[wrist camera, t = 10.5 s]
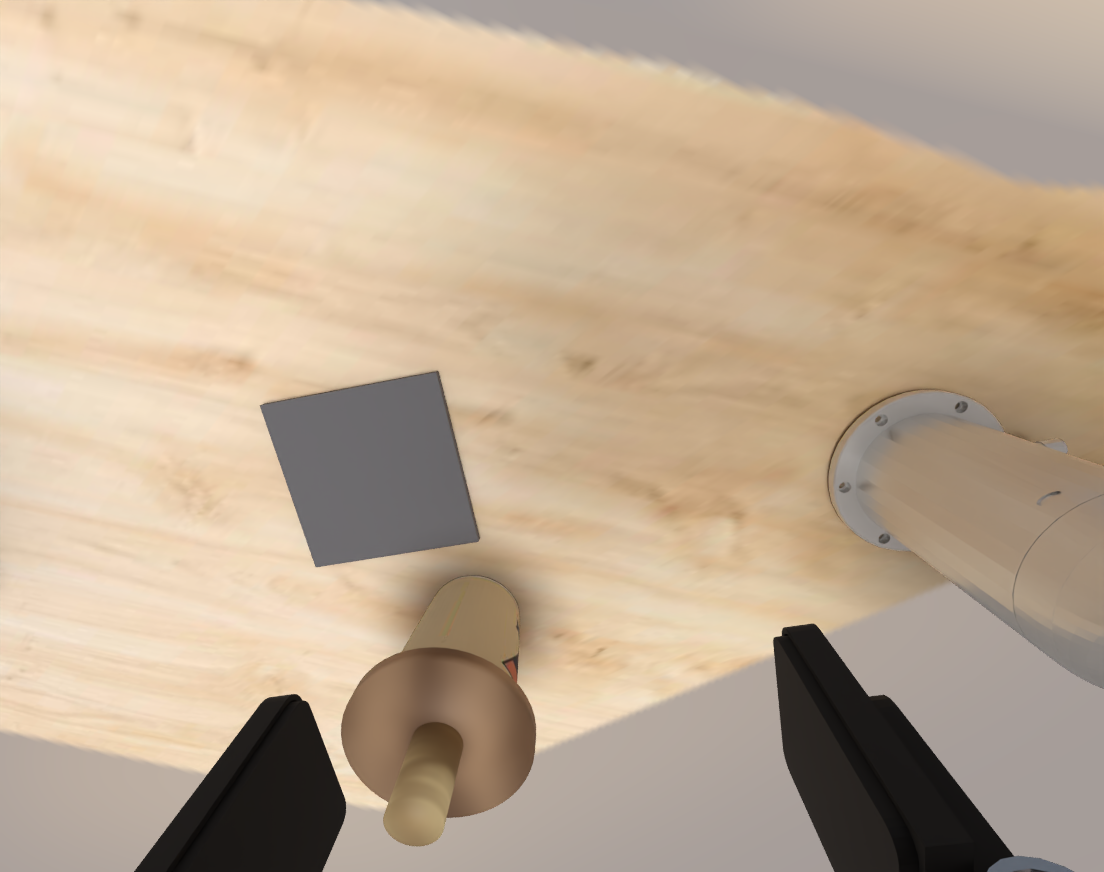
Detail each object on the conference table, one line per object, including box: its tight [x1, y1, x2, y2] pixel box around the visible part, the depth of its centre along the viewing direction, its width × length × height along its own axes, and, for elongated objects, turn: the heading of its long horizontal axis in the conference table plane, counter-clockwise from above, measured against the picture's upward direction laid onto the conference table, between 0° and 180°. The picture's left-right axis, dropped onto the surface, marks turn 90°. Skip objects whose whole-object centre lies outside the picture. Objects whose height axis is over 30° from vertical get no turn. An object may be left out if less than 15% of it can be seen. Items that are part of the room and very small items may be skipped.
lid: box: [341, 647, 536, 846], centre depth 30 cm, size 12×12×6 cm
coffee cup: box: [402, 576, 520, 683], centre depth 39 cm, size 9×9×12 cm
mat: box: [260, 371, 480, 567], centre depth 41 cm, size 14×14×1 cm
